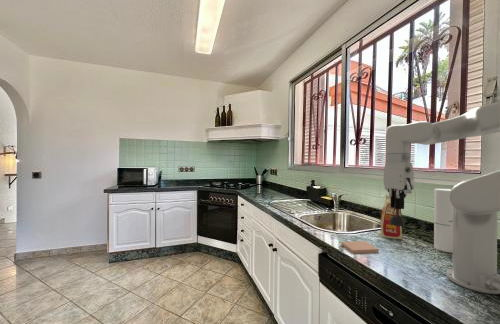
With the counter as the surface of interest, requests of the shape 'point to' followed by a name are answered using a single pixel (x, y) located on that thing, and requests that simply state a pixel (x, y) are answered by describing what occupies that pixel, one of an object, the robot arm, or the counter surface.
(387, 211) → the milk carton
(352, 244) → the tile
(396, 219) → the wooden tabletop sculpture
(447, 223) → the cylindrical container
